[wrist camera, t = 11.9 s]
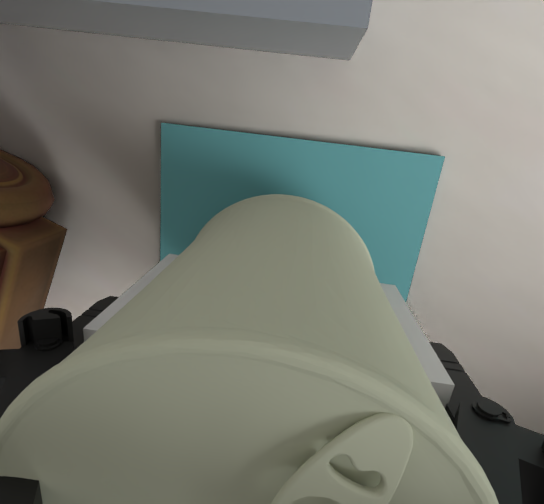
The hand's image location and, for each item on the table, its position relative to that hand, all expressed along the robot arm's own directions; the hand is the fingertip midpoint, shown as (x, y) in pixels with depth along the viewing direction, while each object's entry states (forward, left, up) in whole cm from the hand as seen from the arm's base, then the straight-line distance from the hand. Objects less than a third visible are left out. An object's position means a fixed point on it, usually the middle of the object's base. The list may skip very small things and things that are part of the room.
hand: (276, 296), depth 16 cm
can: (0, 0, -1) cm, 1 cm away
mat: (0, 0, -4) cm, 4 cm away
